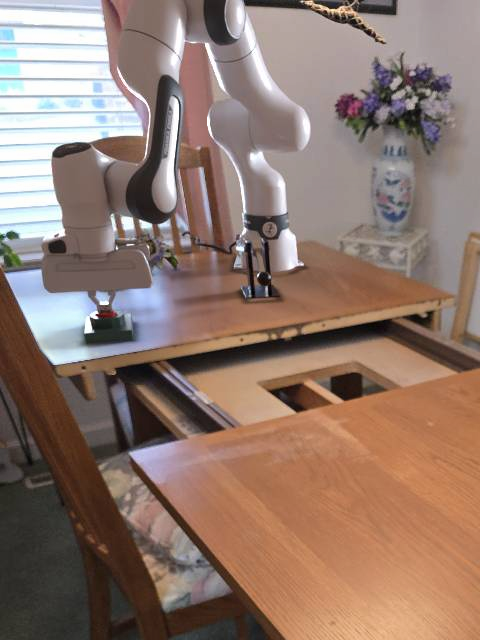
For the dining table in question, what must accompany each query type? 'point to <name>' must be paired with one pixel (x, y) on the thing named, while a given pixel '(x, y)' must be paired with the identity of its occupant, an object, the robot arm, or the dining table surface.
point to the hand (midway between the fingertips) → (105, 312)
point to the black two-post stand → (253, 290)
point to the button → (106, 314)
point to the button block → (108, 328)
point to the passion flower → (157, 250)
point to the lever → (260, 263)
